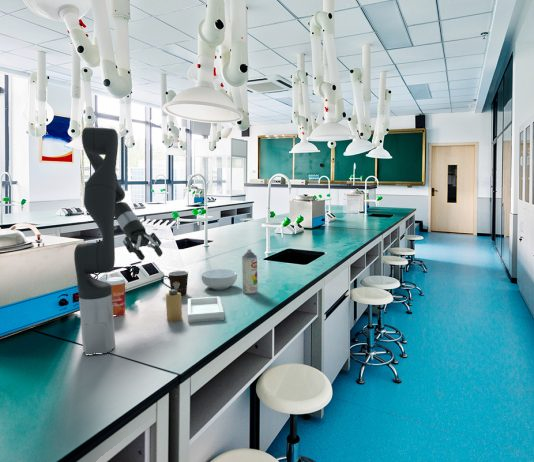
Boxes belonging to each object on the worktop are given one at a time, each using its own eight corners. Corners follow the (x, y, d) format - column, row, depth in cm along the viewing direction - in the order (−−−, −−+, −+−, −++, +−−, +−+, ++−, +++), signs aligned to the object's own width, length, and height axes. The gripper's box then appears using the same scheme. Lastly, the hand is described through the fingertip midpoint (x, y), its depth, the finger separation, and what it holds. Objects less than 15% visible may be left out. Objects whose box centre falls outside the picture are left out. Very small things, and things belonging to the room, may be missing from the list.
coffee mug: (192, 293, 182) (192, 272, 180) (179, 298, 174) (178, 276, 173) (174, 290, 187) (173, 269, 186) (160, 295, 180) (159, 273, 179)
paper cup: (105, 318, 151) (103, 282, 149) (108, 311, 158) (105, 277, 156) (127, 316, 153) (125, 280, 151) (128, 309, 160) (126, 275, 158)
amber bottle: (181, 321, 147) (180, 292, 145) (166, 322, 146) (165, 293, 144) (182, 316, 152) (180, 288, 151) (167, 317, 151) (166, 289, 149)
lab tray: (223, 319, 147) (223, 311, 147) (188, 322, 145) (187, 314, 144) (219, 303, 167) (219, 296, 166) (188, 305, 164) (187, 298, 164)
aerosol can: (253, 295, 178) (252, 251, 175) (240, 293, 181) (239, 250, 178) (260, 291, 184) (259, 248, 181) (246, 289, 187) (245, 247, 184)
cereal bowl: (194, 289, 188) (194, 275, 187) (215, 281, 203) (214, 267, 202) (224, 294, 180) (224, 278, 179) (243, 285, 195) (243, 271, 194)
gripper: (119, 221, 149) (141, 254, 144) (149, 217, 161) (170, 248, 156) (111, 234, 152) (132, 266, 148) (141, 229, 164) (162, 259, 159)
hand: (152, 257), depth 152 cm, fingers open, 8 cm apart
